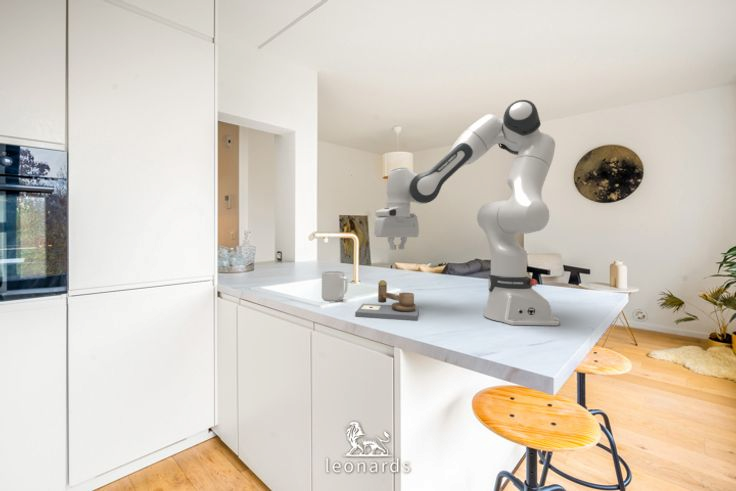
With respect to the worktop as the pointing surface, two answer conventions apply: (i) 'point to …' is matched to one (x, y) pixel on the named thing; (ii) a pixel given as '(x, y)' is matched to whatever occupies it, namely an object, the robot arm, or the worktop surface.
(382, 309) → the stand
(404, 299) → the brown wooden piece
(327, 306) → the worktop surface
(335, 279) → the mug
